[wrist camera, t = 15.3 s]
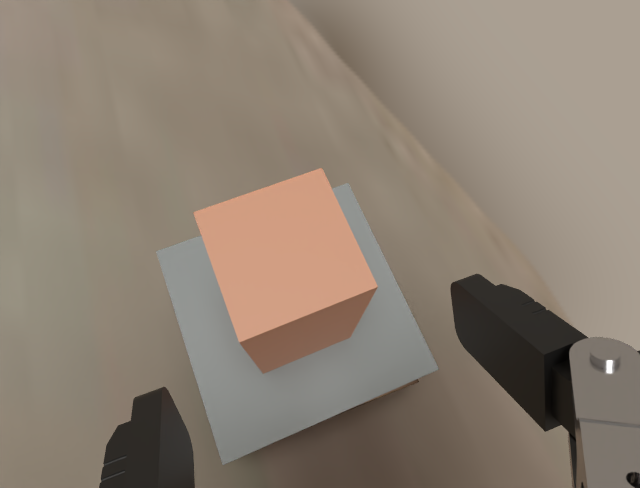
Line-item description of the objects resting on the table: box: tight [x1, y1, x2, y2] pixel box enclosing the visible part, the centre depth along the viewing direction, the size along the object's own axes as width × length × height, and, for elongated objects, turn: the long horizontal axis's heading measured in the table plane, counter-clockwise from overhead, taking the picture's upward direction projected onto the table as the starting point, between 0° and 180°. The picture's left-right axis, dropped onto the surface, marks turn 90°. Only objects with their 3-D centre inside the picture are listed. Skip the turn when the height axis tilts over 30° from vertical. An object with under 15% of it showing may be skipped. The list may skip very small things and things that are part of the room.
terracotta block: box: [193, 168, 378, 374], centre depth 21 cm, size 5×5×10 cm
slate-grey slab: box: [156, 183, 439, 465], centre depth 28 cm, size 12×12×4 cm
